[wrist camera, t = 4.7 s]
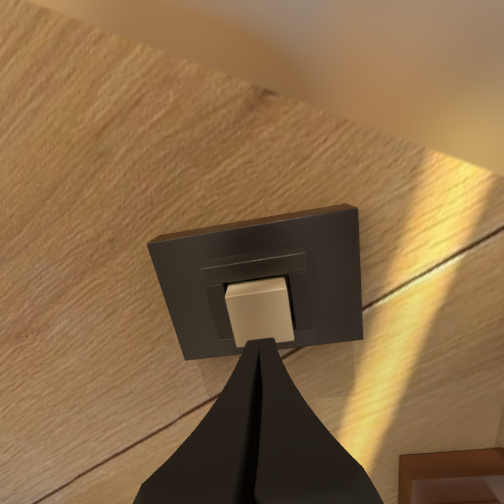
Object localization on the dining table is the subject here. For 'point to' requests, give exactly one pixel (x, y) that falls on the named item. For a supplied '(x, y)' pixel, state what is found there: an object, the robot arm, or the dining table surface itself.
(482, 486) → the tiered wooden pedestal
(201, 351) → the tiered pedestal stand
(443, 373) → the dining table surface
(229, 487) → the robot arm
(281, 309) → the key
